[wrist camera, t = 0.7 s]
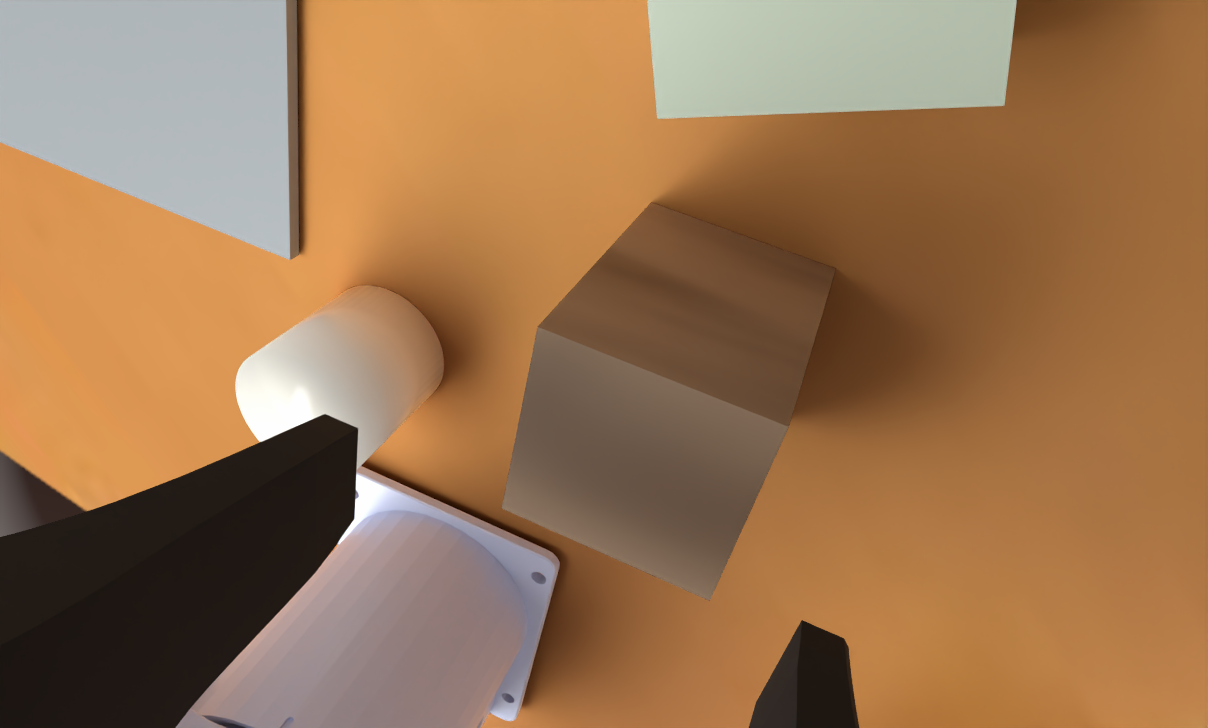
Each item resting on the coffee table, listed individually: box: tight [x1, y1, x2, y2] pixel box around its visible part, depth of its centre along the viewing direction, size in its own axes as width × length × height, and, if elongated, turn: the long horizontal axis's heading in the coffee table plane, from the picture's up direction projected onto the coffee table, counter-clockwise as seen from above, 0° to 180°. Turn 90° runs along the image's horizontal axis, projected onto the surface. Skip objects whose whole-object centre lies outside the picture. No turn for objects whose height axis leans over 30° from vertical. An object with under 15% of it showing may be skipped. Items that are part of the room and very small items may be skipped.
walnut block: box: [502, 202, 836, 601], centre depth 17 cm, size 4×4×6 cm
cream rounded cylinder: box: [236, 285, 444, 469], centre depth 23 cm, size 4×4×4 cm
